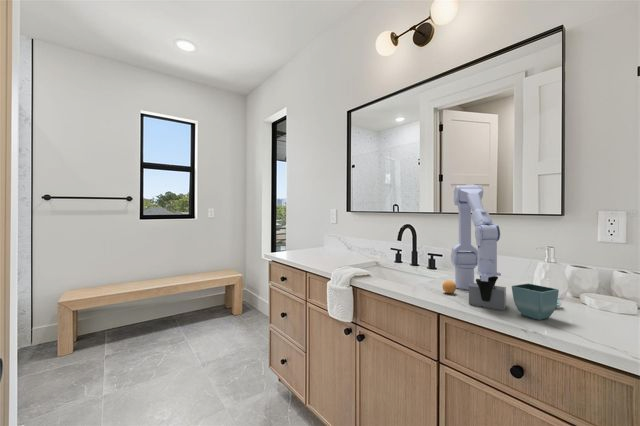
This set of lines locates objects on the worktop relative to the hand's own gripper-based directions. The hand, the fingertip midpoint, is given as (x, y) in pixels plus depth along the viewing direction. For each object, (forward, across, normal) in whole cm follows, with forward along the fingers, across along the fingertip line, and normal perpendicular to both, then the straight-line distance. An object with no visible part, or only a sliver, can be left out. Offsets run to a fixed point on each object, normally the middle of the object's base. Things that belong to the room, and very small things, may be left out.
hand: (487, 298), depth 97 cm
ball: (0, +8, +14) cm, 16 cm away
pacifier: (+3, +11, -16) cm, 20 cm away
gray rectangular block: (+2, 0, 0) cm, 2 cm away
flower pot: (+2, -4, -13) cm, 14 cm away
